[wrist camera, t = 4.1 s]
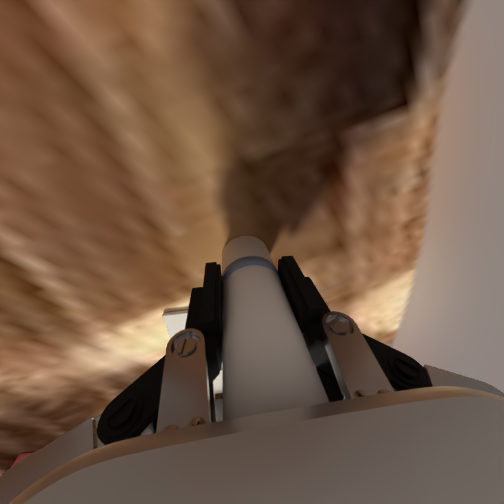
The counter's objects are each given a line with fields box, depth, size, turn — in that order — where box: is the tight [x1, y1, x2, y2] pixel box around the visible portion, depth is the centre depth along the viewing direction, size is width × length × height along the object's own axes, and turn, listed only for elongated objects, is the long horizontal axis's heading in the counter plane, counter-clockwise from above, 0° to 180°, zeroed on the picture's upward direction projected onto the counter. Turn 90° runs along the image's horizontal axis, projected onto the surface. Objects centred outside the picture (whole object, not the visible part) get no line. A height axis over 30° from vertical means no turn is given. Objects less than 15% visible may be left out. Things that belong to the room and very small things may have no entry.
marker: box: [222, 235, 329, 421], centre depth 8 cm, size 3×3×12 cm
